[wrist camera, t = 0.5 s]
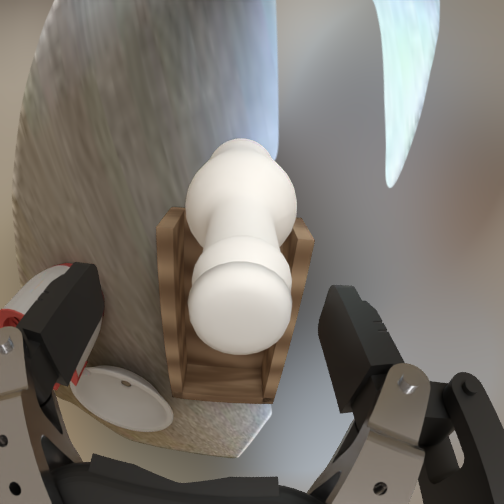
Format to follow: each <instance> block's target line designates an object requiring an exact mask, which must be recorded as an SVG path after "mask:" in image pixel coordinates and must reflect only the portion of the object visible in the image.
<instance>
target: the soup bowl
mask: <svg viewBox="0 0 504 504" xmlns="http://www.w3.org/2000/svg"><path fill="white" fill-rule="evenodd" d="M85 369H87V370H88V371H89V372H91V374H90V375H89V376H86V375H84V376H81V377H80V379H79V381H78V384H77V386H75V385H74V384H73V383H72V381H70V387H71V390H72V392H73V394H74V395H75V397H76V398H77V399H78V400H79V402H80V403H81V404H82V405H83V406H85V407H86V408H87V409H88V410H89V411H91V412H92V413H93V414H95V415H96V416H98V417H100V418H101V419H103V420H105V421H107V422H109V423H111V424H114V425H116V426H119V427H122V428H126V429H130V430H134V431H142V432H153V431H159V430H163V429H165V428H167V427H168V426H169V425H170V424H171V423H172V421H173V412H172V409H171V407H170V406H169V404H168V403H167V402H166V400H165V399H164V398H163V397H162V396H161V395H160V394H159V392H158V391H157V390H156V389H155V388H154V387H153V386H152V385H151V384H150V383H149V382H148V381H147V380H145V379H144V378H142V377H141V376H139V375H137V374H136V373H134V372H131V371H129V370H127V369H124V368H120V367H116V366H108V365H102V366H95V367H85ZM121 381H127V382H129V383H130V384H131V386H125V385H123V384H122V383H121Z"/></svg>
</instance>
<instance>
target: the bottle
mask: <svg viewBox="0 0 504 504" xmlns="http://www.w3.org/2000/svg"><path fill="white" fill-rule="evenodd" d="M185 206H186V219H187V222H188V225H189V228H190V230H191V232H192V234H193V235H194V237H195V238H196V240H197V241H198V243H199V244H200V245H201V246H202V247H203V252H202V254H201V255H200V257H199V259H198V261H197V262H196V264H195V267H194V271H193V276H192V288H191V289H190V292H189V297H188V309H189V316H190V322H191V324H192V326H193V328H194V330H195V332H196V334H197V335H198V337H199V338H200V339H201V340H202V341H203V342H204V343H205V344H207V345H208V346H210V347H211V348H213V349H215V350H218V351H220V352H223V353H227V354H233V355H248V354H253V353H258V352H260V351H263V350H265V349H268V348H269V347H271V346H272V345H273V344H275V343H276V342H277V341H278V340H279V339H280V338H281V337H282V336H283V334H284V332H285V330H286V328H287V326H288V324H289V322H290V318H291V309H292V297H291V285H292V277H291V273H290V268H289V265H288V263H287V261H286V259H285V258H284V256H283V254H282V253H281V252H280V248H279V247H280V246H281V245H282V244H283V243H284V241H285V240H286V238H287V237H288V235H289V234H290V232H291V231H292V228H293V225H294V222H295V220H296V210H297V201H296V196H295V191H294V187H293V185H292V183H291V181H290V179H289V177H288V175H287V174H286V172H285V171H284V170H283V169H282V168H281V167H280V166H279V165H278V164H277V163H276V162H275V161H273V159H272V158H271V156H270V154H269V152H268V151H267V150H266V149H265V148H264V147H263V146H262V145H260V144H259V143H257V142H255V141H253V140H249V139H233V140H230V141H227V142H225V143H224V144H222V145H221V146H220V147H218V148H217V149H216V150H215V152H214V153H213V154H212V156H211V158H210V160H209V161H208V162H206V163H205V164H204V166H203V167H202V168H201V169H200V170H199V171H198V172H197V173H196V174H195V176H194V178H193V180H192V182H191V183H190V185H189V188H188V192H187V197H186V203H185Z"/></svg>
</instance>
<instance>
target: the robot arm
mask: <svg viewBox="0 0 504 504" xmlns="http://www.w3.org/2000/svg"><path fill="white" fill-rule="evenodd" d="M103 312H104V299H103V295H102V290H101V285H100V280H99V275H98V270H97V267H96V266H95V265H94V264H88V263H80V262H75V263H73V264H72V265H71V267H70V268H69V269H68V270H67V271H66V272H65V274H62V275H61V276H59V277H58V278H56V279H54V280H53V281H51V283H50V284H49V285H48V286H47V287H46V288H45V290H44V292H43V293H41V295H40V296H39V297H38V300H36V301H35V302H34V303H33V305H32V306H31V307H30V308H29V310H28V311H27V312H26V314H25V315H24V316H23V318H22V319H21V320H20V322H19V323H18V324H17V326H16V327H12V326H7V327H3V328H0V504H409V502H410V499H411V497H412V494H413V491H414V489H415V486H416V483H417V480H418V481H419V485H420V490H421V494H422V498H423V503H424V504H504V429H503V427H502V425H501V422H500V420H499V418H498V416H497V414H496V411H495V409H494V407H493V405H492V403H491V401H490V399H489V397H488V395H487V393H486V391H485V389H484V388H483V386H482V384H481V382H480V381H479V380H478V379H477V378H476V377H475V376H473V375H472V374H469V373H466V372H460V373H457V374H456V375H455V376H454V377H453V378H452V379H451V381H450V382H449V383H440V382H432V381H429V379H428V377H427V376H426V374H425V373H424V372H423V371H422V370H421V369H419V368H418V367H416V366H414V365H411V364H407V363H404V361H403V359H402V357H401V355H400V353H399V351H398V349H397V347H396V345H395V344H394V342H393V340H392V338H391V336H390V334H389V332H387V329H386V327H385V325H384V323H382V320H381V318H380V316H379V314H378V313H377V311H376V309H374V308H373V307H372V306H371V305H370V304H369V303H368V302H367V301H362V300H361V298H360V297H359V294H358V292H357V291H356V289H355V287H353V286H342V285H332V286H331V287H330V289H329V291H328V294H327V297H326V301H325V304H324V307H323V310H322V313H321V316H320V319H319V324H318V335H319V339H320V343H321V346H322V349H323V353H324V357H325V360H326V363H327V367H328V370H329V374H330V378H331V381H332V385H333V388H334V392H335V396H336V399H337V403H338V407H339V411H340V413H348V412H353V415H354V418H355V419H354V420H353V421H352V423H351V424H350V426H349V428H348V430H347V432H346V434H345V436H344V438H343V439H342V442H341V443H340V445H339V447H338V448H337V450H336V452H335V454H334V455H333V457H332V459H331V460H330V462H329V464H328V465H327V467H326V468H325V470H324V471H323V472H322V473H321V475H320V476H319V477H318V478H317V479H316V481H315V482H314V484H313V485H312V486H311V488H310V489H309V490H308V492H307V493H305V492H302V491H299V490H297V489H294V488H290V487H286V486H281V485H278V477H227V478H221V479H215V480H208V481H201V482H192V483H178V482H174V481H172V480H169V479H166V478H164V477H162V476H159V475H157V474H154V473H152V472H150V471H147V470H145V469H143V468H141V467H138V466H136V465H134V464H130V463H126V462H122V461H118V460H114V459H111V458H107V457H104V456H100V455H97V454H93V455H92V459H91V462H83V461H82V459H81V457H80V456H79V454H78V452H77V451H76V449H75V448H74V446H73V444H72V443H71V441H70V439H69V436H68V433H67V430H66V427H65V424H64V421H63V418H62V415H61V412H60V408H59V405H58V401H57V397H56V394H55V392H54V390H53V388H54V385H55V383H58V384H61V385H64V386H68V385H69V383H70V381H71V379H72V376H73V374H74V372H75V370H76V368H77V366H78V363H79V361H80V359H81V357H82V355H83V353H84V351H85V349H86V347H87V345H88V343H89V341H90V339H91V337H92V335H93V333H94V331H95V329H96V327H97V326H98V324H99V322H100V320H101V318H102V316H103ZM454 430H455V431H456V434H457V436H458V439H459V441H460V445H461V447H462V450H463V453H464V464H463V466H462V467H461V469H460V468H459V466H458V463H457V460H456V456H455V454H454V451H453V448H452V445H451V442H450V439H449V435H450V434H451V433H452V432H453V431H454Z"/></svg>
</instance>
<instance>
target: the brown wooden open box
mask: <svg viewBox="0 0 504 504" xmlns="http://www.w3.org/2000/svg"><path fill="white" fill-rule="evenodd" d="M156 239H157V263H158V279H159V293H160V305H161V316H162V325H163V334H164V343H165V351H166V358H167V365H168V372H169V379H170V385H171V391H172V397H174V398H182V399H191V400H201V401H212V402H227V403H249V404H273V401H274V398H275V394H276V391H277V388H278V384H279V381H280V378H281V374H282V371H283V367H284V364H285V360H286V356H287V353H288V349H289V346H290V342H291V338H292V335H293V331H294V327H295V323H296V319H297V315H298V311H299V307H300V303H301V299H302V295H303V291H304V287H305V282H306V278H307V273H308V269H309V265H310V260H311V256H312V251H313V246H314V242H315V240H314V238H313V237H312V235H311V233H310V231H309V230H308V228H307V226H306V225H305V223H304V221H303V220H302V218H297V217H296V220H295V222H294V225H293V228H292V231H291V232H290V234H289V235H288V237H287V238H286V240H285V241H284V243H283V244H282V245H281V246H280V247H279V248H280V252H281V253H282V254H283V256H284V258H285V259H286V261H287V263H288V265H289V268H290V273H291V277H292V285H291V297H292V309H291V318H290V322H289V324H288V326H287V328H286V330H285V332H284V334H283V336H282V337H281V338H280V339H279V340H278V341H277V342H276V343H275V344H273V345H272V346H271V347H269V348H268V349H265V350H263V351H260V352H258V353H253V354H248V355H233V354H227V353H223V352H220V351H218V350H215V349H213V348H211V347H210V346H208V345H207V344H205V343H204V342H203V341H202V340H201V339H200V338H199V337H198V335H197V334H196V332H195V330H194V328H193V326H192V324H191V322H190V316H189V309H188V297H189V292H190V289H191V288H192V276H193V271H194V267H195V264H196V262H197V261H198V259H199V257H200V255H201V254H202V252H203V247H202V246H201V245H200V244H199V243H198V241H197V240H196V238H195V237H194V235H193V234H192V232H191V230H190V228H189V225H188V222H187V219H186V208H180V207H171V208H170V210H169V211H168V212H167V213H166V215H165V216H164V217H163V219H162V220H161V221H160V223H159V224H158V225H157V227H156Z"/></svg>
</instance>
